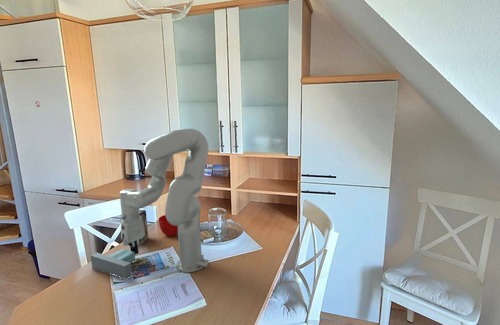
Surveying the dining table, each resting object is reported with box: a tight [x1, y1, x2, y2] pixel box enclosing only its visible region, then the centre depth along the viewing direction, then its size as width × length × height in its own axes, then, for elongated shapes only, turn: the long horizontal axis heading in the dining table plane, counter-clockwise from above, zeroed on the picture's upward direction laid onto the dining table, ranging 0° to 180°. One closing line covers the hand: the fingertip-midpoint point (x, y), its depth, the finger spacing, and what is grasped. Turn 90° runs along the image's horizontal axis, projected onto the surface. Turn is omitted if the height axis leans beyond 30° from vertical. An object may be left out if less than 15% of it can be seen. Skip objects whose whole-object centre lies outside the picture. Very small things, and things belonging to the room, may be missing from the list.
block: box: [108, 248, 137, 263], centre depth 130 cm, size 8×9×5 cm
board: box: [90, 252, 133, 280], centre depth 123 cm, size 22×3×6 cm, turn 62°
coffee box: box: [138, 209, 149, 246], centre depth 153 cm, size 9×6×16 cm
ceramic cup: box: [158, 214, 178, 238], centre depth 160 cm, size 13×17×10 cm
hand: (134, 253), depth 135 cm, fingers closed
